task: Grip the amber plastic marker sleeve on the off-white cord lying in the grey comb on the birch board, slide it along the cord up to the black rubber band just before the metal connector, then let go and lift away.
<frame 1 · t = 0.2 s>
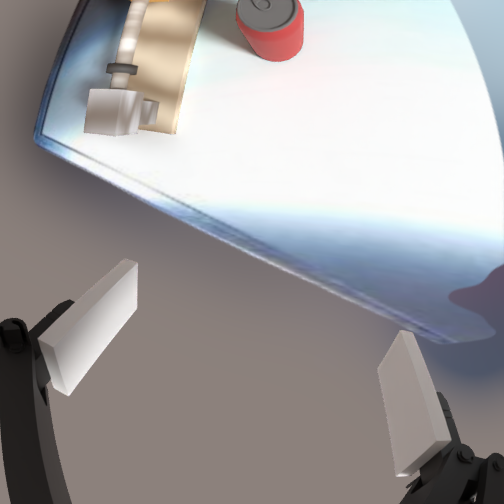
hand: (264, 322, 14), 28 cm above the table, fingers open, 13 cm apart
beer can: (277, 40, 32), on the table
cord board: (166, 35, 33), on the table
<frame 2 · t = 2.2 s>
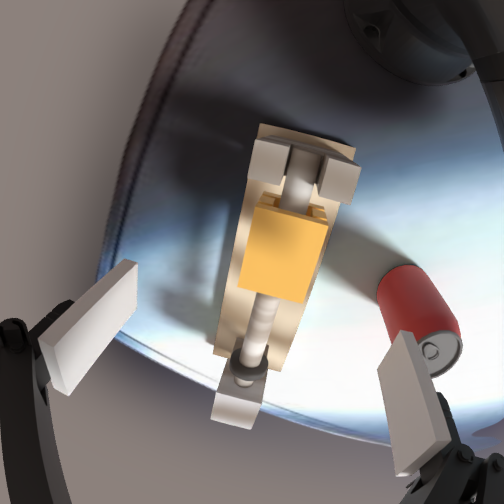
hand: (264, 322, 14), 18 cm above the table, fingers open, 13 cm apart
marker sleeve: (282, 244, 23), point 9 cm above the table, slide at 0.0 cm
beer can: (401, 287, 32), on the table
cord board: (274, 263, 33), on the table
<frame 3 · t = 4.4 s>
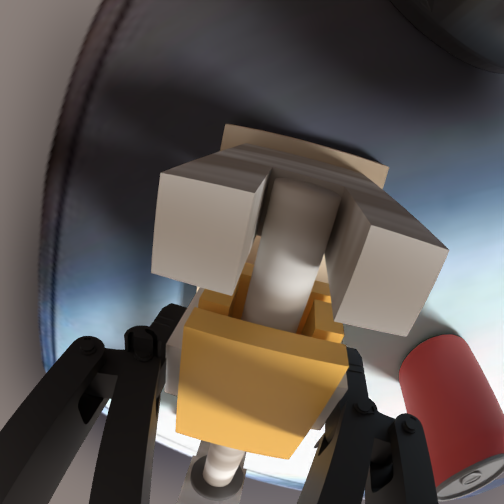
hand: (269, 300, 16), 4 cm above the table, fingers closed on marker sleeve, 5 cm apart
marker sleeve: (256, 363, 12), point 9 cm above the table, slide at 0.0 cm, touching gripper
beer can: (432, 359, 21), on the table
cord board: (255, 336, 22), on the table
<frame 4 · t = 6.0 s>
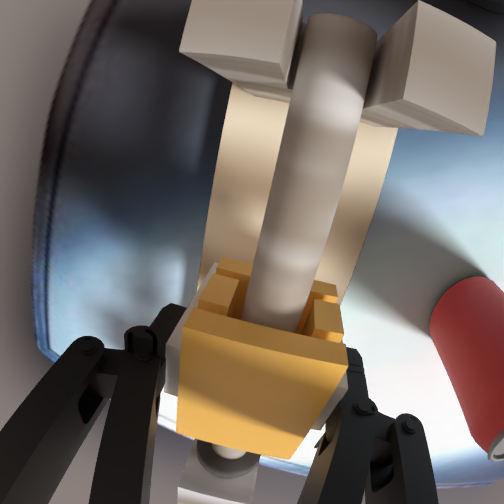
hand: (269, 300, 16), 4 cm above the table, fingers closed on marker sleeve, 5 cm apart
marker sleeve: (256, 363, 12), point 9 cm above the table, slide at 5.0 cm, touching gripper
beer can: (462, 309, 19), on the table
cord board: (272, 278, 20), on the table
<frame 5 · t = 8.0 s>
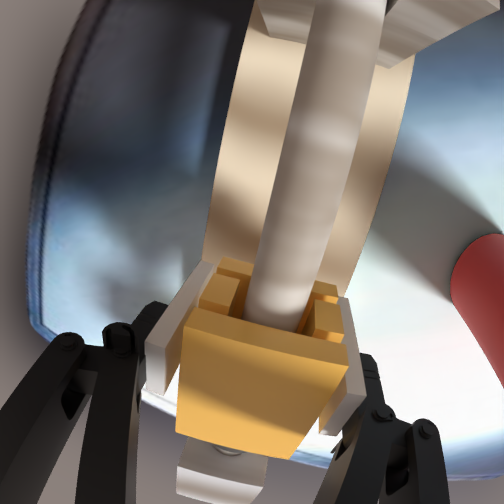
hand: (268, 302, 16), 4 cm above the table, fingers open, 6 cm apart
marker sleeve: (256, 363, 12), point 9 cm above the table, slide at 8.5 cm
beer can: (481, 271, 18), on the table
cord board: (285, 229, 19), on the table
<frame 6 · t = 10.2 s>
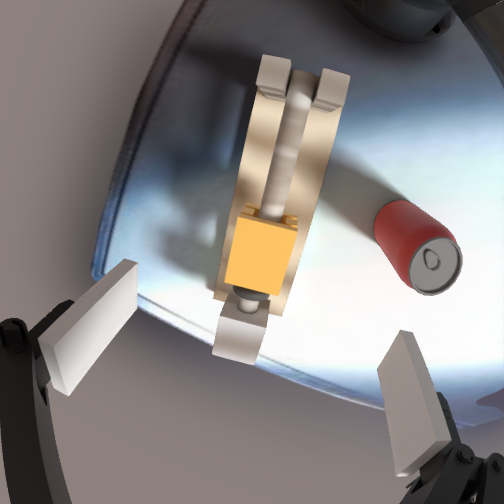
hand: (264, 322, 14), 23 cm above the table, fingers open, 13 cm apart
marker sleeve: (262, 247, 27), point 9 cm above the table, slide at 8.5 cm
beer can: (397, 225, 34), on the table
cord board: (275, 199, 35), on the table
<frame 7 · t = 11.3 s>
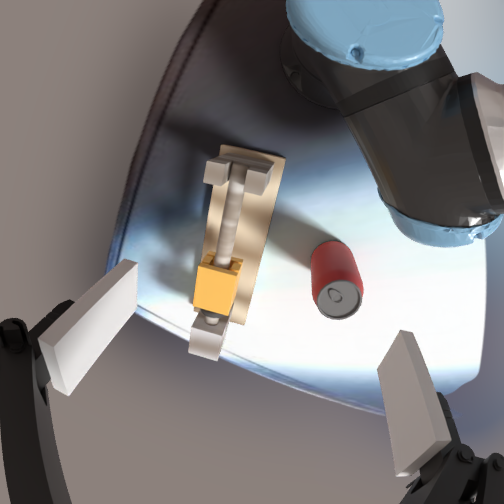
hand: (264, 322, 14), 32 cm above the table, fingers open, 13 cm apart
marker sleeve: (218, 282, 40), point 9 cm above the table, slide at 8.5 cm
beer can: (331, 259, 46), on the table
cord board: (235, 240, 47), on the table
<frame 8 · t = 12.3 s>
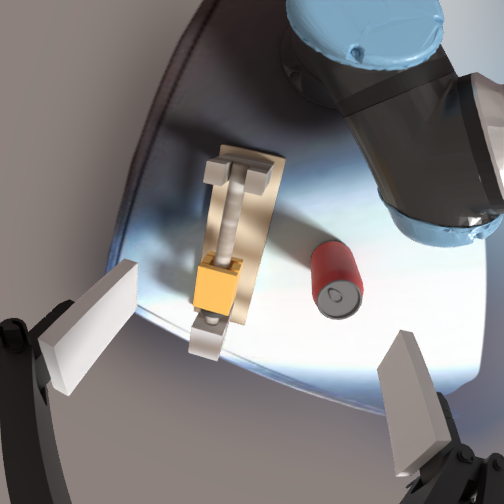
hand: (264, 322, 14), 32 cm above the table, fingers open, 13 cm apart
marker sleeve: (218, 282, 40), point 9 cm above the table, slide at 8.5 cm
beer can: (331, 259, 46), on the table
cord board: (235, 240, 47), on the table
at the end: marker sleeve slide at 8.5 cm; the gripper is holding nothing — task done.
